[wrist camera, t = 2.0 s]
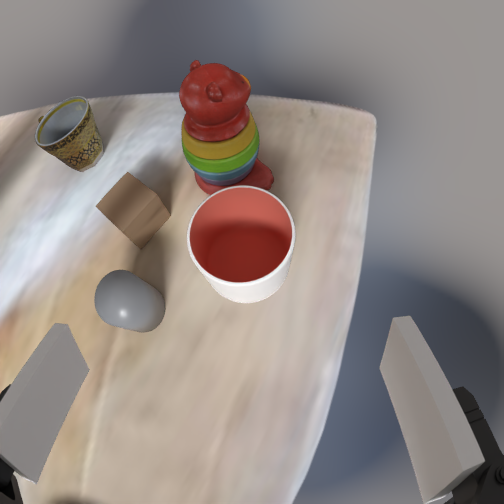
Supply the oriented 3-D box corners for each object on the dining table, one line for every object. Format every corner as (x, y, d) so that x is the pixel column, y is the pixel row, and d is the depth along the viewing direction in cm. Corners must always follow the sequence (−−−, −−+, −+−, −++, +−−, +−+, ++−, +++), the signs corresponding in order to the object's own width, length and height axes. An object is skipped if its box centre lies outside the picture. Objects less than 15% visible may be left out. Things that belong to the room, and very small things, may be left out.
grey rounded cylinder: (115, 299, 37) (87, 287, 30) (152, 276, 38) (130, 259, 31) (134, 340, 35) (107, 336, 28) (173, 317, 36) (153, 308, 29)
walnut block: (115, 225, 40) (95, 206, 35) (143, 194, 42) (127, 171, 36) (141, 249, 39) (122, 232, 33) (171, 216, 40) (157, 194, 35)
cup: (279, 219, 39) (282, 176, 30) (296, 296, 36) (306, 273, 26) (201, 234, 39) (182, 196, 30) (212, 311, 36) (193, 295, 26)
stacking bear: (278, 188, 41) (282, 86, 24) (206, 214, 40) (169, 121, 23) (249, 132, 44) (240, 34, 27) (185, 155, 43) (150, 61, 27)
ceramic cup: (123, 138, 46) (100, 98, 36) (90, 187, 43) (58, 151, 33) (77, 127, 48) (53, 93, 38) (46, 169, 45) (17, 138, 36)
